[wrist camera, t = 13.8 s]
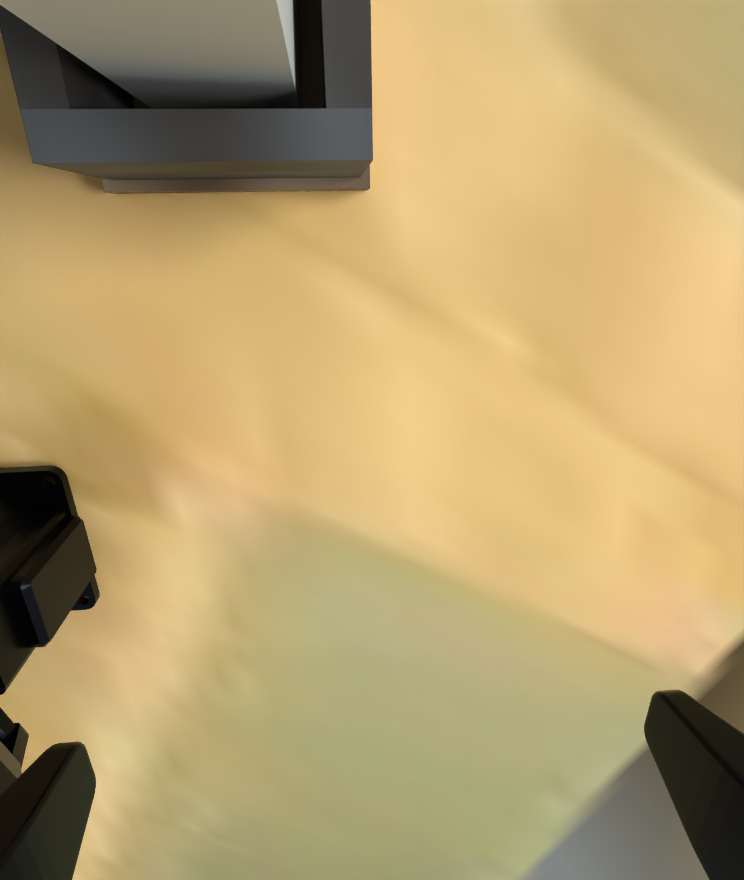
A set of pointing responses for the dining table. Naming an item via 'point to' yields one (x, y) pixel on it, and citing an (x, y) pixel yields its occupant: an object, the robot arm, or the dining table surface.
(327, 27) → the socket deck
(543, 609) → the dining table surface
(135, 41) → the plug
